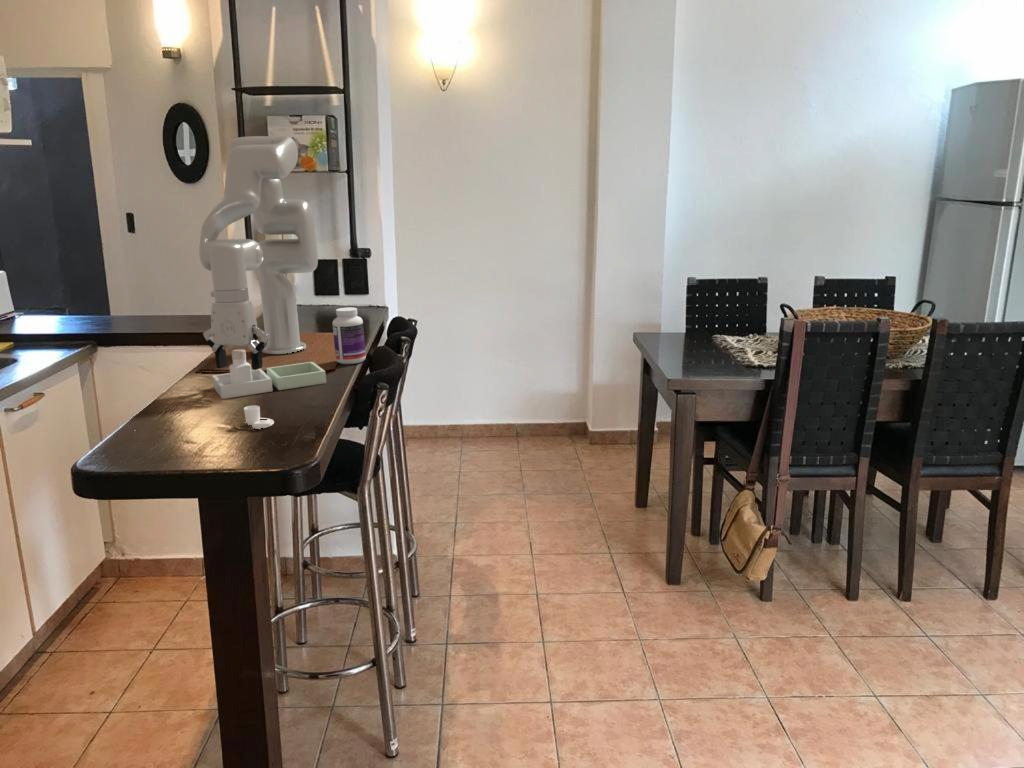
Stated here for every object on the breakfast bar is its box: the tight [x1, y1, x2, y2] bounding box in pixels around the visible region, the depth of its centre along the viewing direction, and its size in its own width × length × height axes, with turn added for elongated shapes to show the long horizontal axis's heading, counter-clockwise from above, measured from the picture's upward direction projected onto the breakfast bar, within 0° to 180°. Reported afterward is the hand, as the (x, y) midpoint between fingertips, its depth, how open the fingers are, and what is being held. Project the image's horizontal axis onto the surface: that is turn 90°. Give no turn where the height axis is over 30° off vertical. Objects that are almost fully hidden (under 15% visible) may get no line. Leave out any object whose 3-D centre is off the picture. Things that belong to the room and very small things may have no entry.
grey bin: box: [211, 368, 274, 400], centre depth 194 cm, size 12×12×3 cm
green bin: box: [266, 361, 327, 391], centre depth 200 cm, size 12×12×3 cm
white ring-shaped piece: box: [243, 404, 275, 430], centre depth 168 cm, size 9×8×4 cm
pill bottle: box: [332, 306, 367, 365], centre depth 217 cm, size 8×8×14 cm
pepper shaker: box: [228, 349, 253, 384], centre depth 193 cm, size 4×4×10 cm
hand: (239, 367), depth 193 cm, fingers open, 9 cm apart
